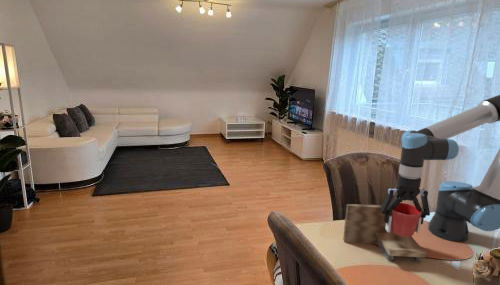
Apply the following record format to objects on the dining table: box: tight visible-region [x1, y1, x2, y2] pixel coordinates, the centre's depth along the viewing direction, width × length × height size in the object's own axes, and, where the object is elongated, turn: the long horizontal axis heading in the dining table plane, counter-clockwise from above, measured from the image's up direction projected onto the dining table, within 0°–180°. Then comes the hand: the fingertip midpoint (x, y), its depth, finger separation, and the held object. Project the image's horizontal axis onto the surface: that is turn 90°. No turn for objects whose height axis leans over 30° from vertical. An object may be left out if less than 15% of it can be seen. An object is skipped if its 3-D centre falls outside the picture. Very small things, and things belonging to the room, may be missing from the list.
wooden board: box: [342, 203, 393, 245], centre depth 129 cm, size 26×2×16 cm, turn 88°
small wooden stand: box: [376, 233, 428, 263], centre depth 122 cm, size 13×14×6 cm
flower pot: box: [391, 202, 422, 237], centre depth 120 cm, size 11×11×10 cm
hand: (401, 231), depth 121 cm, fingers closed on flower pot, 10 cm apart
